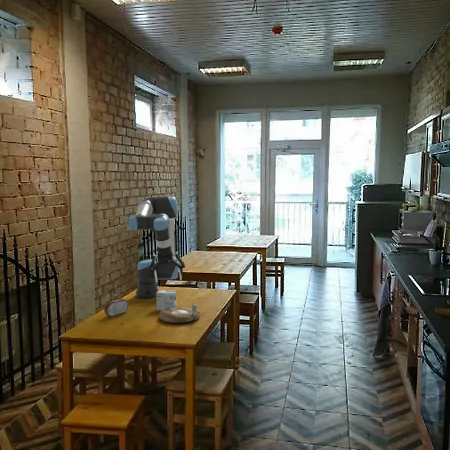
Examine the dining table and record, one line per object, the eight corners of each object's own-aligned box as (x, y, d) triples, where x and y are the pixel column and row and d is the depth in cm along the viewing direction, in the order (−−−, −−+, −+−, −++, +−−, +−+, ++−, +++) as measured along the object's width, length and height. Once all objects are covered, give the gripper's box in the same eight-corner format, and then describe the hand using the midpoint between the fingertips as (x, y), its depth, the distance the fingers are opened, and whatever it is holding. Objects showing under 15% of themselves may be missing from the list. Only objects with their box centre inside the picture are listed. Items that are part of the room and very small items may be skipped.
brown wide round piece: (176, 308, 265) (176, 294, 264) (208, 314, 253) (208, 300, 252) (150, 318, 247) (150, 303, 246) (183, 325, 234) (183, 310, 233)
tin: (125, 311, 264) (125, 297, 263) (129, 312, 262) (129, 297, 261) (104, 317, 252) (103, 302, 251) (107, 318, 250) (107, 303, 249)
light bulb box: (176, 307, 269) (176, 290, 268) (174, 311, 263) (174, 293, 262) (159, 307, 270) (158, 289, 269) (156, 310, 264) (155, 292, 263)
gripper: (140, 250, 243) (145, 285, 251) (186, 246, 244) (190, 281, 252) (141, 245, 250) (147, 279, 258) (186, 240, 251) (190, 274, 259)
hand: (168, 280), depth 255 cm, fingers open, 13 cm apart
